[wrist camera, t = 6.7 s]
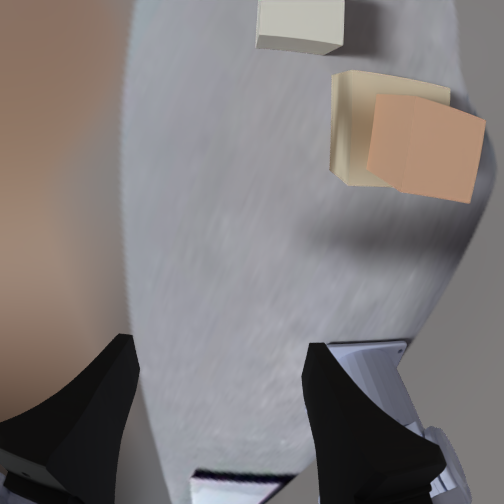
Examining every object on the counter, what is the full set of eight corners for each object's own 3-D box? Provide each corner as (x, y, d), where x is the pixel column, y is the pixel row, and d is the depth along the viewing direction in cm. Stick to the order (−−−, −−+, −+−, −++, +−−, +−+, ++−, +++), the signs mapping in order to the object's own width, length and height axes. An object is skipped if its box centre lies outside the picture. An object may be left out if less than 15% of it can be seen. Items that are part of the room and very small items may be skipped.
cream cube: (322, 55, 16) (343, 45, 12) (255, 48, 16) (258, 34, 12) (325, -1, 14) (344, -22, 11) (258, -9, 14) (263, -34, 10)
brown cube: (428, 179, 16) (469, 203, 12) (366, 169, 15) (400, 192, 12) (440, 111, 14) (485, 120, 10) (376, 94, 14) (415, 95, 10)
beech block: (410, 173, 19) (441, 190, 16) (328, 169, 19) (348, 185, 16) (416, 87, 17) (450, 88, 13) (330, 75, 17) (352, 70, 13)
